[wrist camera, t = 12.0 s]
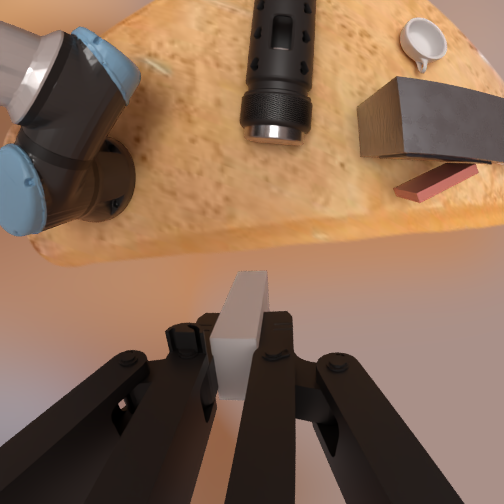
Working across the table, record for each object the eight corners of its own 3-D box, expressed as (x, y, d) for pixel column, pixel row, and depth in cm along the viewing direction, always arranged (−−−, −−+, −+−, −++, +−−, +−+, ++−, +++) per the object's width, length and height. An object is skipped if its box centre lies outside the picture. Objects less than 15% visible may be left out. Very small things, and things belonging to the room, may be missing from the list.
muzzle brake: (315, -2, 36) (320, -34, 26) (305, 148, 44) (312, 142, 34) (258, -7, 37) (253, -39, 27) (243, 142, 45) (233, 135, 35)
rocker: (396, 197, 39) (420, 204, 31) (393, 188, 38) (416, 193, 31) (449, 171, 36) (479, 174, 29) (446, 162, 36) (475, 163, 29)
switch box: (360, 159, 43) (404, 155, 26) (356, 107, 41) (396, 76, 24) (446, 163, 42) (513, 166, 24) (443, 115, 39) (507, 99, 22)
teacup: (394, 23, 36) (405, 11, 31) (433, 37, 35) (446, 27, 30) (394, 71, 39) (405, 61, 33) (434, 84, 38) (448, 77, 33)
